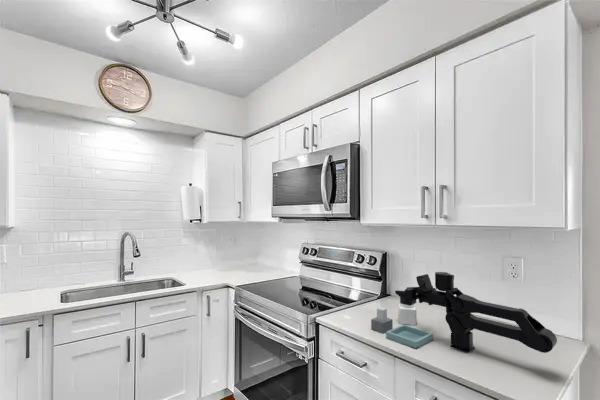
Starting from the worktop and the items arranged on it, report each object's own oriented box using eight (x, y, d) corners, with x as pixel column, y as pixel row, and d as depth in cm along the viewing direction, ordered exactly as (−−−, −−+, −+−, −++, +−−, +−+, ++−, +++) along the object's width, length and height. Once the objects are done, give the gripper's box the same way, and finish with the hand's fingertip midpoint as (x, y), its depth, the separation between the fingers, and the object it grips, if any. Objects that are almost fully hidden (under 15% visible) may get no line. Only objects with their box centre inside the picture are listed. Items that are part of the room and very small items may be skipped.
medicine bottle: (416, 325, 137) (416, 298, 137) (400, 324, 138) (399, 297, 139) (413, 320, 144) (413, 294, 144) (398, 318, 145) (397, 293, 146)
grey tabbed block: (392, 329, 131) (392, 308, 132) (383, 333, 127) (382, 312, 127) (380, 325, 136) (380, 305, 136) (371, 329, 131) (371, 308, 132)
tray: (433, 340, 121) (433, 333, 121) (416, 349, 112) (416, 342, 112) (403, 330, 131) (403, 324, 131) (386, 338, 122) (386, 331, 122)
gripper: (446, 274, 128) (412, 269, 140) (424, 280, 116) (388, 274, 128) (446, 301, 128) (412, 293, 140) (424, 310, 116) (389, 300, 128)
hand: (401, 290), depth 134 cm, fingers open, 9 cm apart
